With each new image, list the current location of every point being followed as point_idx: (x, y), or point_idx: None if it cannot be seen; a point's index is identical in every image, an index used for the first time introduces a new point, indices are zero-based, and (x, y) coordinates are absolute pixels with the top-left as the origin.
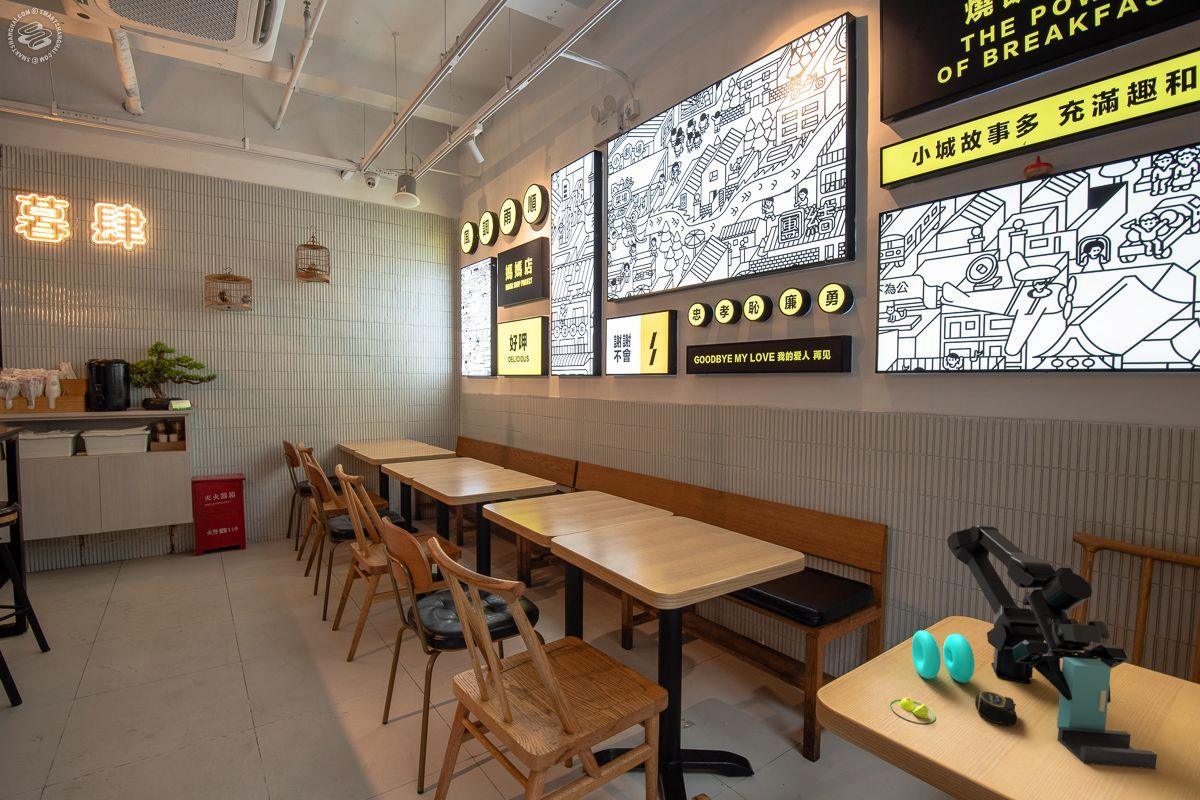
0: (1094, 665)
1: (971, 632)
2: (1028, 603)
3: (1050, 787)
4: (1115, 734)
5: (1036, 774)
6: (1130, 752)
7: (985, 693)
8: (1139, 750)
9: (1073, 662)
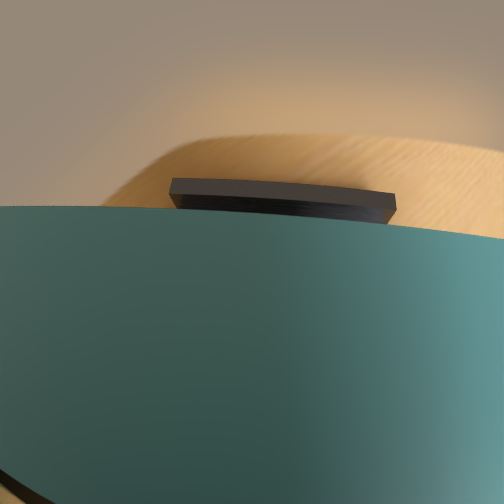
0: (180, 249)
1: None
2: None
3: (483, 154)
4: None
5: (495, 186)
6: (252, 181)
7: None
8: (208, 193)
9: None
